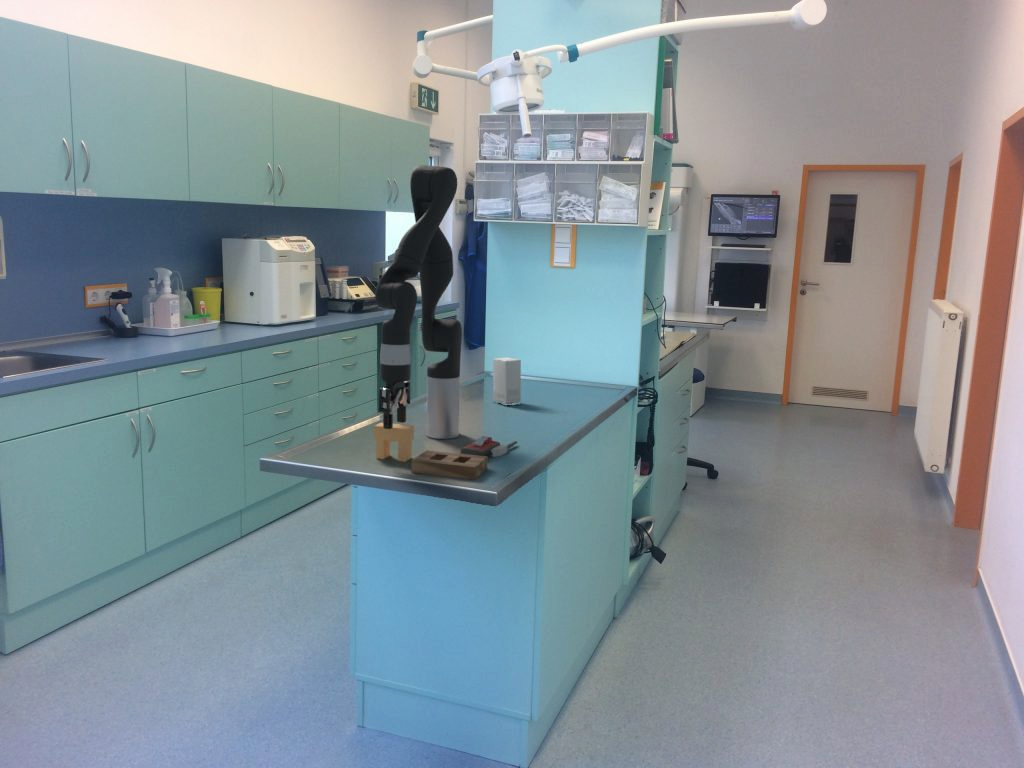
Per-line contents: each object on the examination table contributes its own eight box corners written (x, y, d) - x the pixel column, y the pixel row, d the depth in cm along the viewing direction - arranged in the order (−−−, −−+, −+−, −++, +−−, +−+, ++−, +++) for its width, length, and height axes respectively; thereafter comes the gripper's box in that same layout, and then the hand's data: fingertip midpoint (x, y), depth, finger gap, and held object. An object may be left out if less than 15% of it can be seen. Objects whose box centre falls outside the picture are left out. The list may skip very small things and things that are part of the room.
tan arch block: (381, 454, 210) (381, 422, 208) (413, 458, 207) (413, 425, 206) (374, 458, 206) (374, 425, 204) (407, 462, 203) (407, 429, 202)
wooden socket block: (426, 461, 204) (427, 450, 204) (487, 468, 200) (487, 456, 199) (411, 472, 195) (411, 460, 194) (474, 479, 190) (474, 467, 190)
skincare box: (521, 405, 277) (522, 359, 274) (504, 406, 273) (506, 361, 271) (507, 400, 284) (508, 356, 281) (491, 402, 280) (492, 357, 277)
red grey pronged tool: (486, 465, 204) (519, 447, 222) (487, 448, 204) (520, 432, 221) (456, 460, 208) (491, 443, 226) (456, 443, 207) (491, 428, 225)
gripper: (398, 366, 194) (397, 432, 197) (420, 359, 208) (419, 421, 210) (369, 364, 196) (369, 429, 199) (392, 357, 210) (392, 418, 212)
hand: (394, 425), depth 204 cm, fingers open, 8 cm apart
